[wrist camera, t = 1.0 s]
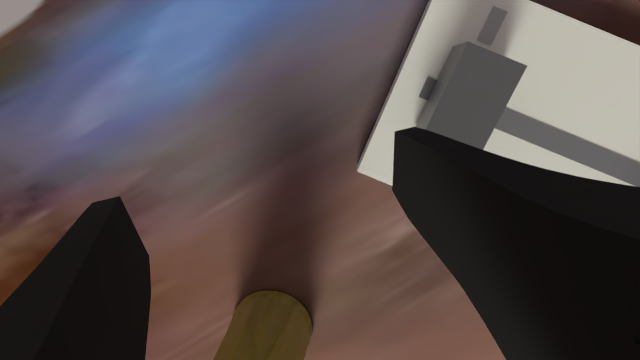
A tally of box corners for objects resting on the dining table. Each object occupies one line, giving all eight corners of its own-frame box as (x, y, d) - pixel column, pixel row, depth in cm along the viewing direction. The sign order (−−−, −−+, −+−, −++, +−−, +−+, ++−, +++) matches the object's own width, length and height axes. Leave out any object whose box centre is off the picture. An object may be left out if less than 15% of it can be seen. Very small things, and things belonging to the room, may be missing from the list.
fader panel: (761, 108, 22) (801, 111, 20) (637, 279, 25) (661, 296, 23) (439, -24, 22) (447, -35, 20) (357, 164, 25) (357, 171, 23)
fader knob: (504, 67, 21) (527, 65, 18) (461, 151, 22) (476, 162, 19) (453, 46, 21) (467, 41, 18) (413, 131, 22) (420, 140, 19)
